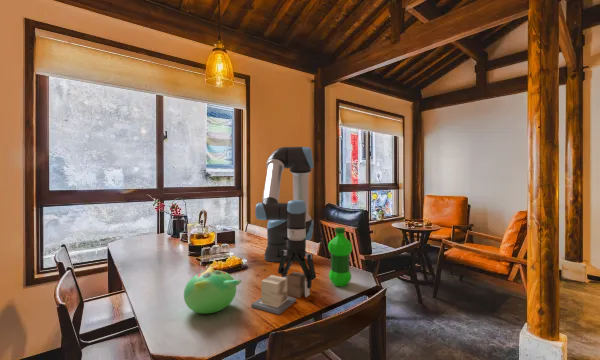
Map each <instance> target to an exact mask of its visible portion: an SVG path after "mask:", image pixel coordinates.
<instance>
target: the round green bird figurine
mask: <svg viewBox="0 0 600 360" xmlns="http://www.w3.org/2000/svg"><path fill="white" fill-rule="evenodd" d="M241 283H242V280H241V279H234V277H233V276H232V275H231V274H230V273H228V272H226V271H223V270H217V269H216V270H215V269H214V267H213V266H210V267H208V268H207V269H206V270H205V271H202V272H200V273H197V274H196V275H195V276H194V275H193V276H192V278H190V279H189V281H187V283H186V285H185V288H184V291H183V300H184V304H186V306H187V307H188V309H190V310H191V311H192V312H195V313H198V314H204V315H205V314H206V315H207V314H213V313H217V312H219V311H222V310H224V309H225V308H227V307H228V306H229V305H230V304H231V303H232V302H233V300H234V298H235V297H236V294H237V286H238V285H240V284H241Z"/></svg>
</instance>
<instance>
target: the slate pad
mask: <svg viewBox="0 0 600 360" xmlns="http://www.w3.org/2000/svg"><path fill="white" fill-rule="evenodd" d="M295 302H297V297H293V296H289V295H287V299H286V300H285V301H284V302H282V303H281V304H280V305H278V306H274V305H270V304H266V303H263V302H261V297H259V299H257V300H255V301H253V302H252V303H251V308H254V309H257V310H260V311H263V312H268V313H270V314H271V313H272V314H276V315H281V314H282V313H283V312H284V311H285V310H286V311H287V309H289V307H290V306H292V305H293V304H295Z"/></svg>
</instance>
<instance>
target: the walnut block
mask: <svg viewBox="0 0 600 360" xmlns="http://www.w3.org/2000/svg"><path fill="white" fill-rule="evenodd" d="M305 280H306V277H305V274H304V272H298V271H293V272H291V273H290V274H288V276H287V296H289V297H293V298H296V299H300V298H301V297H302V296H305Z"/></svg>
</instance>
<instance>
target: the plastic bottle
mask: <svg viewBox="0 0 600 360" xmlns="http://www.w3.org/2000/svg"><path fill="white" fill-rule="evenodd" d="M334 232H335V234H336V236H335V237H333V238H332V239H331V240H330V241H329V242H328V245H327V249H328V251H329V252H330V258H331V259H330V270H329V273H328V277H329V281H331V283H332V284H333V285H334V284H335V285H336V287H339V286H343V287H346V285H347V284H349V283H350V281H351V279H352V273H351V271H350V254H351V253H352V251H353V245H352V242H351V241H350V240H349V239H348V238H347V237H345V233H346V228H345V227H337V226H336V227H335V231H334ZM335 285H334V286H335Z"/></svg>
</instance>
